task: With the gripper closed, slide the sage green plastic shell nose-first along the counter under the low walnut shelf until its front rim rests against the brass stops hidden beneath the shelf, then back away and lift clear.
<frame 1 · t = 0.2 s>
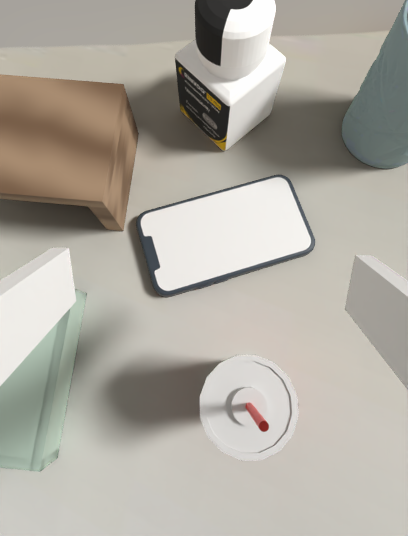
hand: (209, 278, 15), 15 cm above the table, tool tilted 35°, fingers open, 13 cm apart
beverage cup: (234, 386, 29), on the table
medicine bottle: (225, 113, 35), on the table
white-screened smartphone: (224, 237, 32), on the table
drinking glass: (382, 134, 35), on the table
walnut shelf: (63, 174, 33), on the table
sage shell: (23, 366, 29), on the table
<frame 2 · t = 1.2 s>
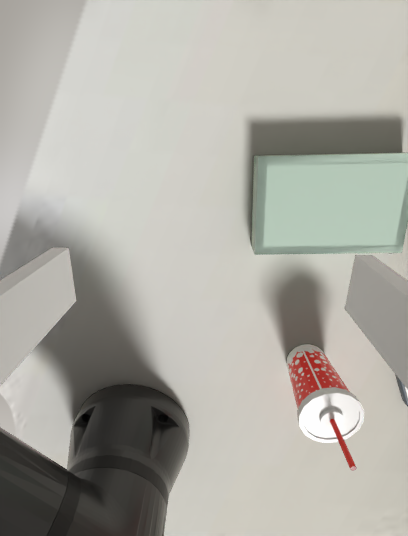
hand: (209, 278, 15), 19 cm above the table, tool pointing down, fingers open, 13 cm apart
beverage cup: (305, 359, 39), on the table
sage shell: (322, 201, 32), on the table
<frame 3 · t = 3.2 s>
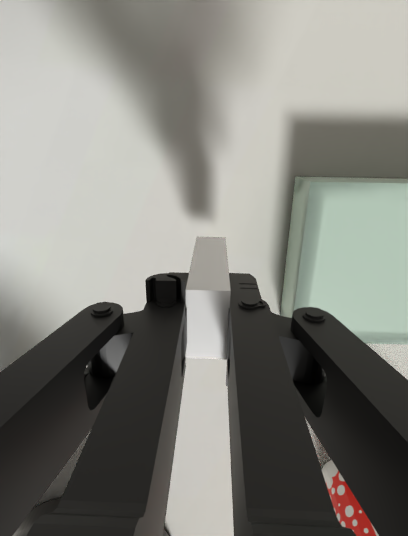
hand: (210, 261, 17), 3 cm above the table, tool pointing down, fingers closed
beverage cup: (347, 471, 27), on the table
sage shell: (401, 254, 20), on the table
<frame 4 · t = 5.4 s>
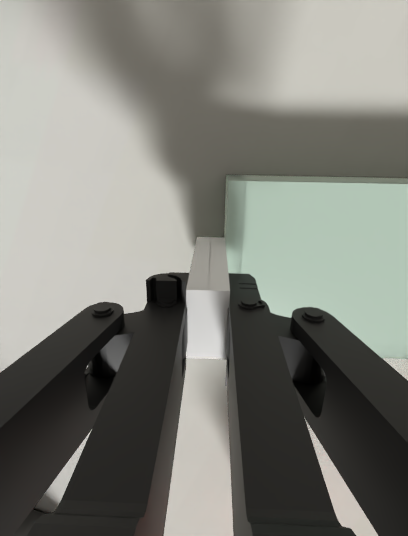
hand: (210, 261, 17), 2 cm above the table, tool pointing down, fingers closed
sage shell: (345, 258, 18), on the table
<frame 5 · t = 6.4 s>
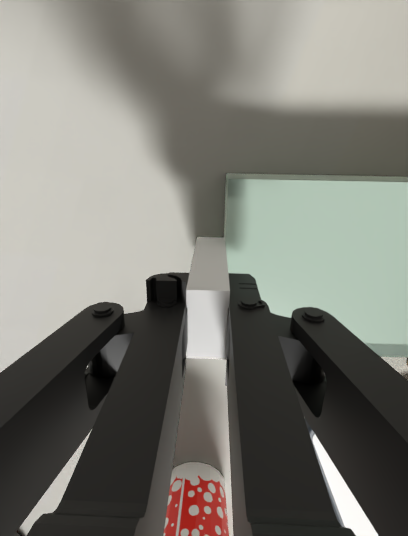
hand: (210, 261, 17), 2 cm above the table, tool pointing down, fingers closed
beverage cup: (195, 480, 26), on the table
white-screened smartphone: (378, 467, 25), on the table
sage shell: (345, 257, 18), on the table, touching gripper
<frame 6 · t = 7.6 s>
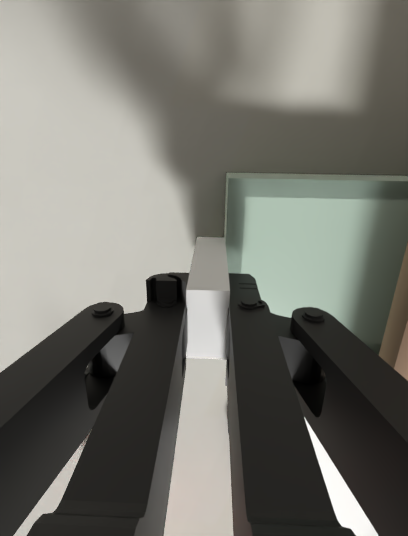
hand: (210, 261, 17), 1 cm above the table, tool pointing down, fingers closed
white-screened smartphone: (310, 464, 25), on the table
sage shell: (346, 257, 18), on the table, touching gripper
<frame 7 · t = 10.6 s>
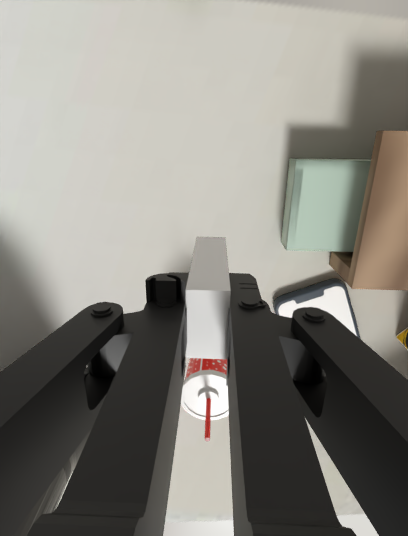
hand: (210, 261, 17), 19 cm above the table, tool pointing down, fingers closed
beverage cup: (210, 346, 42), on the table
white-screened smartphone: (320, 337, 42), on the table
walnut shelf: (391, 204, 34), on the table
sage shell: (350, 203, 35), on the table
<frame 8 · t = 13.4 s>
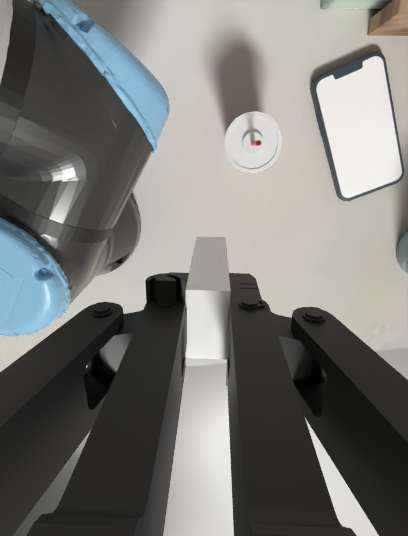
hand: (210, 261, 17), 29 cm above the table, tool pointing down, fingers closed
beverage cup: (245, 143, 42), on the table
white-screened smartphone: (355, 132, 42), on the table
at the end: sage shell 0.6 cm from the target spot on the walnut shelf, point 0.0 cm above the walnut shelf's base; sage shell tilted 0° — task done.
